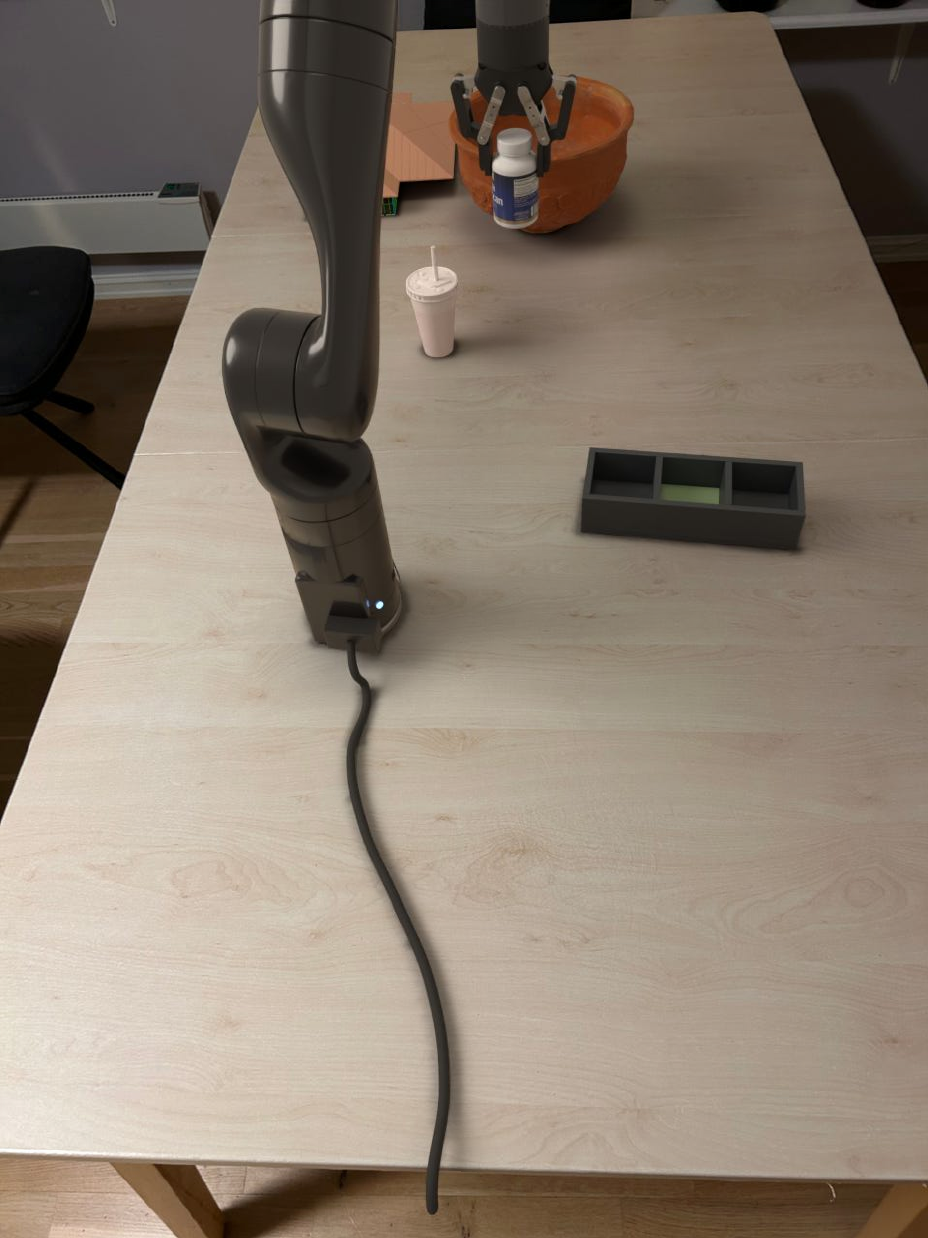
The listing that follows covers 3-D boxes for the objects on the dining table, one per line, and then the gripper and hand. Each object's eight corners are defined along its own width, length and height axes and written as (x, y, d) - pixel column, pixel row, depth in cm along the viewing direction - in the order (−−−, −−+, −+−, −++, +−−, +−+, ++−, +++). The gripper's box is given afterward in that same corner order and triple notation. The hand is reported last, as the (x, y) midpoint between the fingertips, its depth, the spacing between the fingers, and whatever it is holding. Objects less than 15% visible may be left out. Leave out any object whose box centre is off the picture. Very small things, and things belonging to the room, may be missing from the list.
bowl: (658, 236, 132) (669, 127, 120) (495, 283, 127) (490, 174, 115) (580, 162, 146) (583, 58, 135) (432, 201, 142) (422, 98, 130)
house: (459, 113, 159) (455, 61, 153) (454, 214, 139) (450, 159, 133) (327, 121, 161) (318, 70, 155) (302, 222, 141) (291, 168, 134)
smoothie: (458, 365, 117) (449, 263, 106) (408, 362, 118) (394, 260, 107) (468, 334, 120) (460, 232, 110) (420, 331, 122) (408, 230, 111)
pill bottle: (486, 214, 114) (482, 132, 106) (525, 203, 115) (524, 120, 107) (506, 234, 110) (503, 150, 103) (546, 222, 112) (546, 138, 104)
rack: (795, 550, 94) (806, 515, 90) (580, 532, 98) (582, 498, 94) (792, 496, 99) (802, 461, 95) (587, 481, 103) (589, 446, 99)
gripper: (436, 22, 94) (448, 188, 107) (579, 21, 92) (574, 191, 105) (450, -5, 99) (460, 157, 112) (586, -6, 96) (580, 159, 109)
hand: (515, 172), depth 108 cm, fingers closed on pill bottle, 5 cm apart
